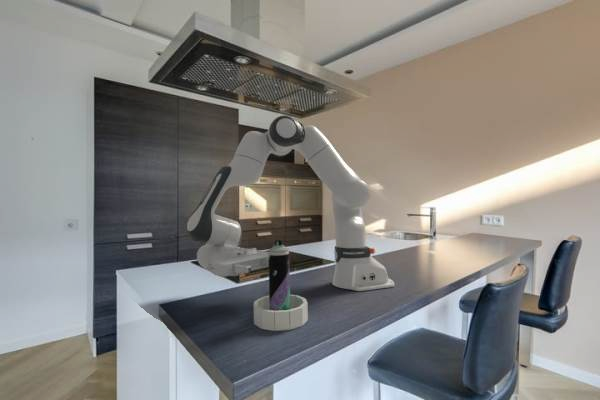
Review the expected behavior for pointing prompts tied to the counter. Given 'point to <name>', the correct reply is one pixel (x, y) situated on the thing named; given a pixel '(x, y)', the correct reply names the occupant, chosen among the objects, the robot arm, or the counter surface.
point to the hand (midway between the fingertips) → (262, 266)
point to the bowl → (281, 314)
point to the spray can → (279, 277)
